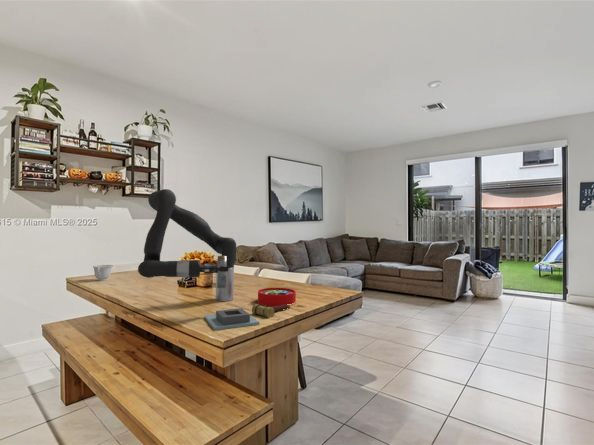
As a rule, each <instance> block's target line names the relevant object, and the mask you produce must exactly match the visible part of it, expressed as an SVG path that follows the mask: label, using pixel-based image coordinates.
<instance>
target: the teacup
mask: <svg viewBox="0 0 594 445" xmlns="http://www.w3.org/2000/svg"><path fill="white" fill-rule="evenodd" d="M112 267H113V265H112V264H97V265H95V264H94V265H93V266H92V268H93V272H94V277H95V278H96V279H97V281H99V282H101V281H103V282H104V281H105V282H106V281H107V280H108V278H109V277H110V276H111V273H112Z"/></svg>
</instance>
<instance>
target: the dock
mask: <svg viewBox="0 0 594 445" xmlns="http://www.w3.org/2000/svg"><path fill="white" fill-rule="evenodd" d="M204 319H205V321H206V322H207V323H208V324H209V325H210V326H211V328H212V329H213V330H214V331H219V330H220V331H221V330H226V329H234V328H241V327H242V328H243V327H249V326H250V327H251V326H257V325H260V321H259V320H257V319H256V318H255V317H253V316H252V315H251V314H250V313H248V311H246V310H244V309H243V308H241V307H240V308H230V309H222V310H216V311H215V314H208V315H207V314H206V315H204Z"/></svg>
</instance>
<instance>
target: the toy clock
mask: <svg viewBox="0 0 594 445" xmlns="http://www.w3.org/2000/svg"><path fill="white" fill-rule="evenodd" d="M296 295H297V291H296V290H295V289H292V288H287V287H265V288H260V289H258V290H257V304H258V305H261V304H262V305H261V306H265V305H267V306H266V307H273V306H279V305H285V304H286V305H287V304H292V303H294V302H295V301H296V300H297V299H296ZM295 303H296V302H295ZM292 305H293V304H292Z"/></svg>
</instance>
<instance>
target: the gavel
mask: <svg viewBox="0 0 594 445" xmlns="http://www.w3.org/2000/svg"><path fill="white" fill-rule="evenodd" d="M289 307H290V308H291V305H286V304H285V305H279V306H265V305H261V304H259V303H254V304H253V305H252V308H251V313H252V314H253V315H258V316H263V317H265V318H268V319H271V318H273V317H274V315H275V313H276V311H277V312H281V311H280V310H282V311H284V310H283V309H286V310H288V309H290V308H289ZM287 308H288V309H287ZM270 317H271V318H270Z"/></svg>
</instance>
